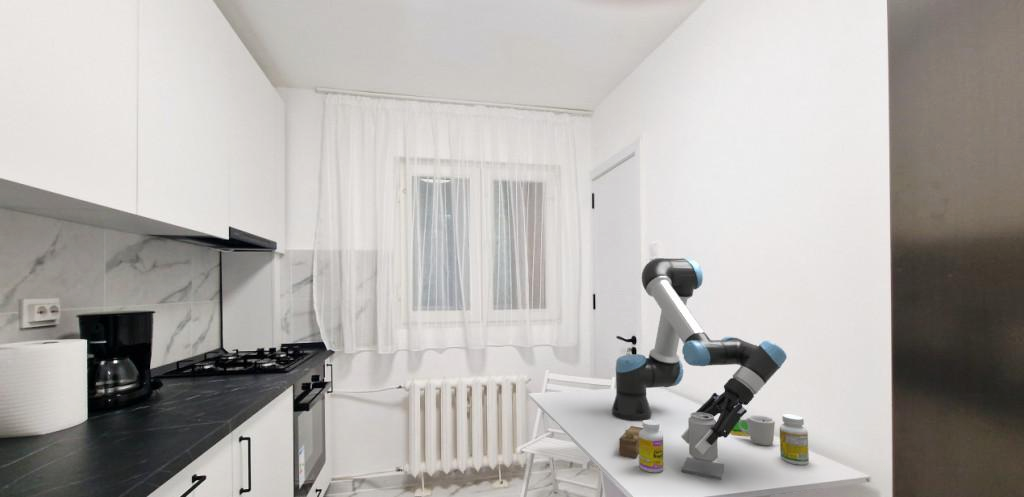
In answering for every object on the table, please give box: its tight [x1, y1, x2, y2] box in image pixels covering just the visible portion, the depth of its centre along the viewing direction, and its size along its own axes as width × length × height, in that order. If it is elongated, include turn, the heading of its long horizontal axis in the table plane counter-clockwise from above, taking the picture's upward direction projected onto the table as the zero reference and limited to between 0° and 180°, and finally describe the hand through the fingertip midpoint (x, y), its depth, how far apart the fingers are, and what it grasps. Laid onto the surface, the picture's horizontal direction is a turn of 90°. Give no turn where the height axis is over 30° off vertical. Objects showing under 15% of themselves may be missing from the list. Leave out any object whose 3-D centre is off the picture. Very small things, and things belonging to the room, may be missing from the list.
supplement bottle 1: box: [638, 419, 664, 473], centre depth 126 cm, size 7×7×13 cm
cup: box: [739, 414, 776, 446], centre depth 147 cm, size 11×8×8 cm
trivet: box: [681, 456, 725, 481], centre depth 125 cm, size 10×10×1 cm
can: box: [687, 411, 719, 462], centre depth 126 cm, size 8×8×12 cm
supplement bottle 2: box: [779, 413, 810, 466], centre depth 132 cm, size 7×7×13 cm
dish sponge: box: [730, 418, 750, 437], centre depth 160 cm, size 7×14×2 cm, turn 167°
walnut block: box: [618, 425, 643, 460], centre depth 140 cm, size 14×5×7 cm, turn 150°
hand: (691, 445), depth 125 cm, fingers closed on can, 7 cm apart
